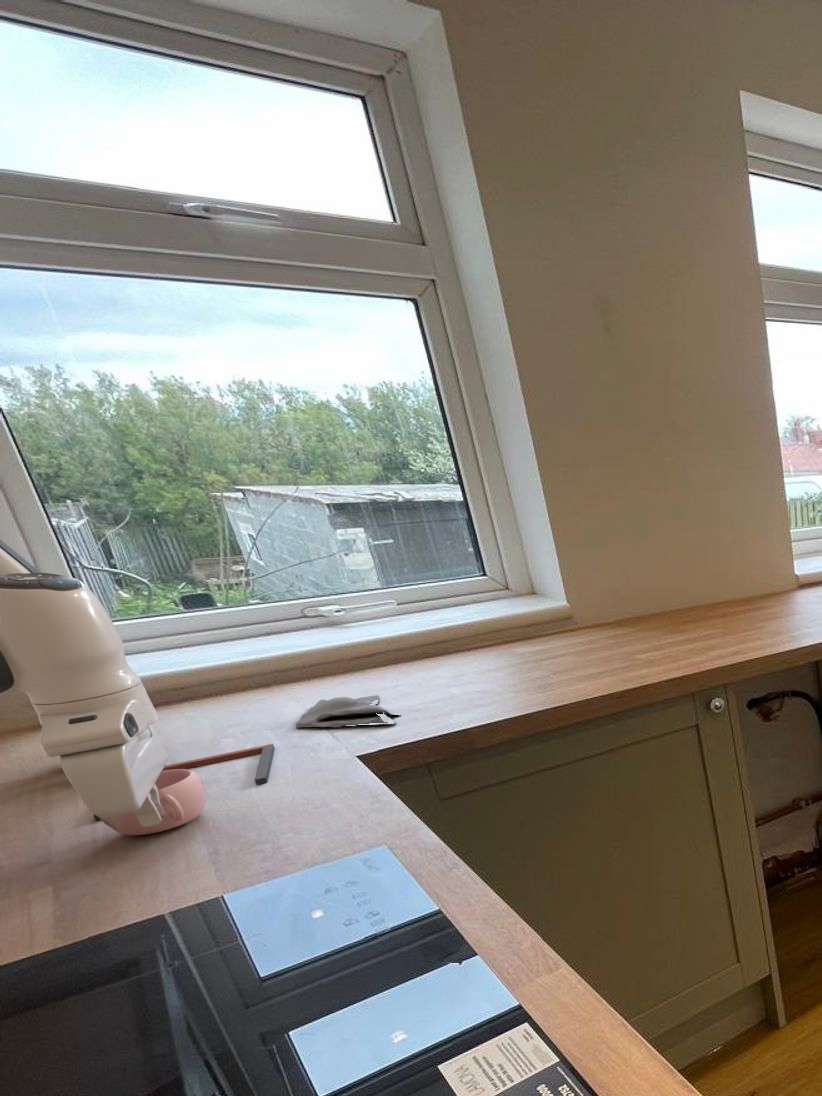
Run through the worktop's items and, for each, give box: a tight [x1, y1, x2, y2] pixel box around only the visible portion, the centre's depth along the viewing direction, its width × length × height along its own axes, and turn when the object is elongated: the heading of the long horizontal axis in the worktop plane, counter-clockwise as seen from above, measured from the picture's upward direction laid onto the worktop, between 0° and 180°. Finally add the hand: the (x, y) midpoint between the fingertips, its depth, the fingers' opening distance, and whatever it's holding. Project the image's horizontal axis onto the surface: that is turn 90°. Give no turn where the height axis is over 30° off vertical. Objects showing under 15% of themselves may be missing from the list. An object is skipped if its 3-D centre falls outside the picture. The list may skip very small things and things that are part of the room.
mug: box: [99, 769, 207, 836], centre depth 103 cm, size 12×10×6 cm
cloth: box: [294, 694, 392, 729], centre depth 142 cm, size 26×14×2 cm, turn 45°
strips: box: [93, 743, 275, 821], centre depth 118 cm, size 18×17×1 cm
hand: (154, 821), depth 99 cm, fingers closed
